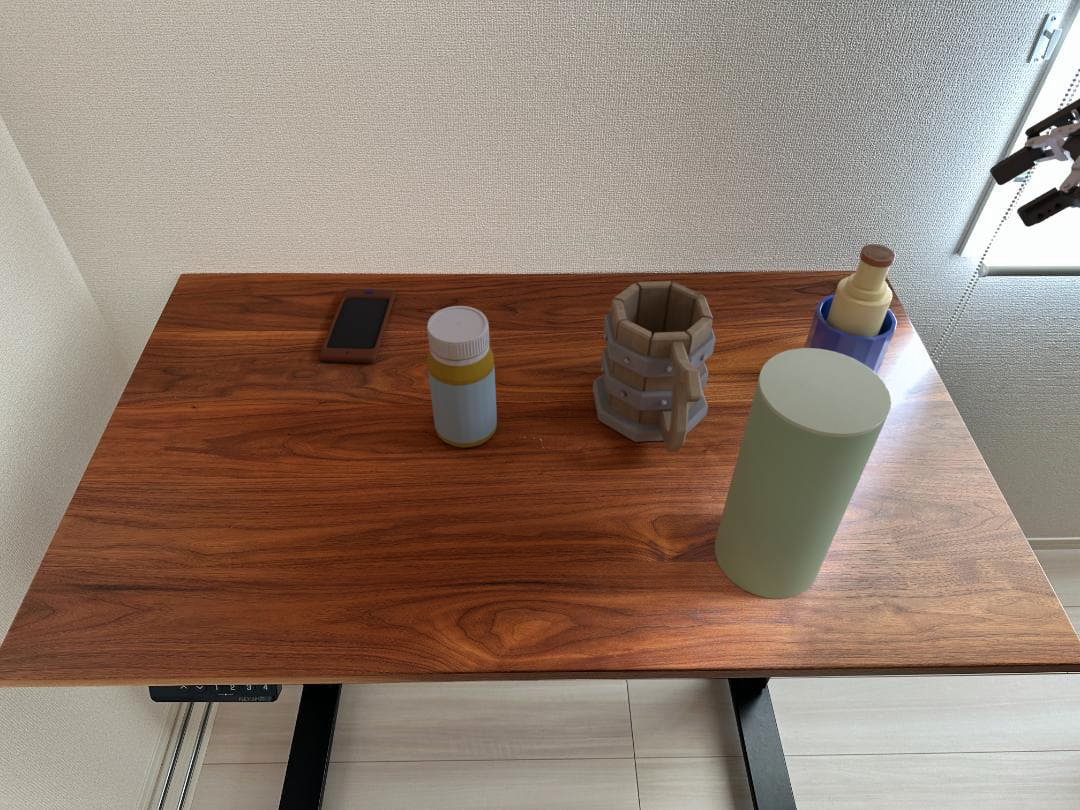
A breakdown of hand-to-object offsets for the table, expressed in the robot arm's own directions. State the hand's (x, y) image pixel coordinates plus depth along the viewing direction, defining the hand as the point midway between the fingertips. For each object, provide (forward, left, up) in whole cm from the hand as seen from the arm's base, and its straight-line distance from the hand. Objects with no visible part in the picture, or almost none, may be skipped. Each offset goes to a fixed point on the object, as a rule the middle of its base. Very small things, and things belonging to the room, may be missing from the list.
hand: (1006, 198), depth 79 cm
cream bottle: (+10, +4, -23) cm, 26 cm away
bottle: (+46, +34, -24) cm, 62 cm away
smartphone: (+68, +24, -24) cm, 76 cm away
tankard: (+27, +24, -24) cm, 43 cm away
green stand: (+11, +36, -24) cm, 44 cm away
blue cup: (+10, +4, -24) cm, 26 cm away
